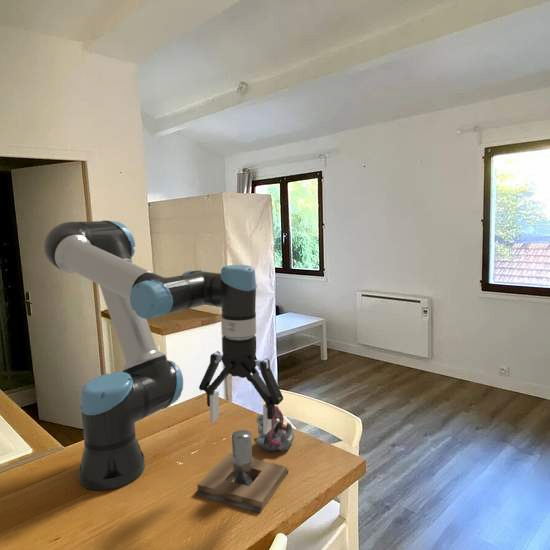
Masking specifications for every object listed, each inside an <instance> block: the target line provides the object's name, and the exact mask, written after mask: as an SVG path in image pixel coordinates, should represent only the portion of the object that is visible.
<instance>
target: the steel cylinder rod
mask: <svg viewBox="0 0 550 550" xmlns="http://www.w3.org/2000/svg"><path fill="white" fill-rule="evenodd" d="M252 441H253V440H252V432H251V431H249V430H245V429H239V430H236V431H234V432H232V434H231V447H232V454H233V477H234V478H233V482H235V483H239V484H243V485H246V486H250V485H251V484H252V483H253V481H254V480H253V479H254V478H253V474H252V459H253V449H252V448H253V447H252V446H253V445H252Z"/></svg>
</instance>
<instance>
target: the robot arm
mask: <svg viewBox="0 0 550 550" xmlns="http://www.w3.org/2000/svg"><path fill="white" fill-rule="evenodd" d="M135 247H136V242H135V238H134V235H133V234H132V231H131V230H130V229H129V228H128V226H127V225H125V224H124V223H121V222H120V221H113V220H107V219H106V220H104V219H103V220H100V221H99V220H96V221H95V220H94V221H92V220H91V221H89V220H88V221H67V222H63V223H59V224H58V225H56V226H54V227H52V229H50V231H48V233H47V234H46V237H45V239H44V244H43V251H44V255H45V256H46V259H47V260H48V262H49V263H51V265H53V266H54V267H56V268H57V269H59V270H61V271H62V272H64V273H69V274H78V275H79V276H82V277H83V278H86V279H88V281H91V282H93V283H95V284H97V285H99V287H100V290H101V293H102V296H103V300H104V302H105V305H106V307H107V311H108V315H109V317H110V320H111V324H112V326H113V328H114V332H115V335H116V337H117V341H118V343H119V346H120V349H121V352H122V356H123V357H124V360H125V362H124V365H123V367H122V369H121V371H113V372H111V373H105V374H101V375H99V376H96V377H94V378H93V379H91V380H89V381H88V382H87V383H86V384H85V385H84V386H83V387H82V389H81V392H80V407H79V408H80V411H81V421H82V431H83V443H84V449H83V452H82V456H81V457H82V458H81V463H80V464H79V468H78V481H79V484H80V485H81V486H82V487H83V488H85V489H88V490H93V491H108V490H113V489H118V488H121V487H124V486H126V485H128V484H130V483H131V482H133V481H135V480H136V479H138V478H139V477H140V476H141V475H142V473H144V470H145V468H146V463H145V462H146V461H145V455H144V452H143V451H142V449H141V446H140V444H139V441H138V439H137V436H136V435H137V434H136V422H139V421H141V420H143V419H145V418H147V417H149V416H151V415H153V414H155V413H157V412H159V411H161V410H164V409H167V408H168V407H169V406H171V405H172V404H174V403H176V402H177V401H178V400H179V398H180V397H181V395H182V392H183V389H184V376H183V373H182V370H181V369H180V366H179V365H178V364H176V363H175V361H172V360H170V359H169V360H168V359H167V356H166V354H165V353H164V352H162V351H160V350H158V348H157V345H156V342H155V339H154V337H153V334H152V331H151V328H150V325H149V322H148V319H153V318H154V319H155V318H161V317H163V316H166V315H171V314H173V313H177V312H181V311H186V310H189V309H193V308H197V307H201V306H211V307H212V306H213V307H219V308H221V328H222V330H221V331H222V332H221V334H222V335H223V337H221V342H222V343H221V344H222V349H221V350H222V353H223V354H222V353H221V352H220V350H219V351H215V352H213V353H212V354H210V357H209V364H208V366H207V368H206V370H205V373H204V375H203V377H202V378H201V379H202V380H201V382H200V384H199V387H198V389H199V391H204V392H205V393H206V404H207V407H209V415H210V418H209V419H210V420H209V422H210V423H215V421H217V420H218V419H219V418H220V395H219V391H218V390H217V389H218V387H219V386H220V385H221V384H222V383H223V381H224V380H225V379H226V378H227V377H228V376H229V374H230V375H231V377H238V378H241V379H244V378H246V380H247V381H248V382H250V383H251V384H252V386H253V387H254V389H255V390H256V392H257V393H258V395H259V396H260V398H261V399H262V400H263V401H264V404H263V406H262V414H263V434H267V433H268V432H269V431H270V430H271V420H272V419H273V418H274V416H275V406H278V405H280V404H281V402H283V400H284V396H283V394H282V391H281V389H280V387H279V384H278V383H277V380H276V378H275V375H274V374H273V371H272V369H271V361H270V359H269V358H264V359H257V336H256V334H257V312H256V301H257V299H256V297H257V296H256V295H257V283H256V271H255V268H254V267H253V266H250V265H245V264H232V265H230V264H229V265H225V266H222V268H221V270H220V273H219V272H211V271H202V270H187V271H184V272H183V273H182V275H181V274H180V275H177V276H176V275H175V276H169V277H164V276H161V275H159V274H156V273H154V272H152V271H150V270H147V269H146V268H143V267H142V266H139V265H137V264H134V263H133V260H132V258H133V256H134V254H135V252H136V250H135ZM221 362H222V364H223V365H224V367H223V369H222V370H221V372H220V373H219V374H218V375H217V377H215V379H214V380H213V377H214V375H215V373H216V372H217V369H218V367H219V364H220V363H221ZM256 367H258V368H256ZM257 369H258V370H257ZM259 371H260V373H259ZM260 374H261V376H262V377H261V376H260ZM212 380H213V381H212ZM211 381H212V383H211Z"/></svg>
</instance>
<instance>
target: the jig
mask: <svg viewBox="0 0 550 550" xmlns="http://www.w3.org/2000/svg"><path fill="white" fill-rule="evenodd" d="M252 474H253V477H254V478H255V479H254V480H253V483H252V484H251V485H250V486H246V485H243V484H239V483H235V482H234V481H232V480H234V477H233V453H229V452H228V453H227V454H226V455H225V456H224V457H223V458H222V459H221V460H220V461H219V462H218V463H217V464H216V465H215V466H214V467H213V468H212V469H211V470H209V472H208V473H207V474H206V475H205V476H204V477H203V478H202V479H201V480H200V481H199V482H198V483H197V487H196V488H197V490H196V492H195V496H198V497H202V498H206V499H209V500H212V501H216V502H219V503H224V504H227V505H230V506H235V507H238V508H242V509H243V510H244V509H245V510H247V511H248V510H249V511H251V512H255V513H259V514H260V513H262V511H263V510H264V509H265V507H266V506H267V504H268V503H269V501H270V500H271V498H272V497H273V495H274V494H275V493H276V491H277V490H278V488H279V487H280V485H281V484H282V482H283V481H284V479H285V478H286V476H287V475H288V474H289V469H288V466H286V465H282V464H277V463H275V462H274V463H273V462H269V461H264V460H261V459H260V460H259V459H256V458H252Z"/></svg>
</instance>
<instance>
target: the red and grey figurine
mask: <svg viewBox="0 0 550 550" xmlns="http://www.w3.org/2000/svg"><path fill="white" fill-rule="evenodd" d="M257 416H258V417H257V418H256V422H257V424H258V427H257V430H258V431H257V433H258V435H259V436H258V437H255V438H253V441H254V442H255V443H257V444H258V445H259V446H260V447H261V448H263V450H265V451H268V452H273V451H279V452H286V451H288V449H289V448H290V446H291V444H292V443H293V441H294V439H295V433H294V430H293V426H292V424H291V423H290V422H287V423H286V426H284V422H285V421H284V419H285V417H284V415H283V412H282V410H280V408H279V406H278V405H275V416H274V418H273V419H272V420H271V430H270V431H269V432H268V433H267V434H263V413H262V414H257ZM278 419H279V420H278Z"/></svg>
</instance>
